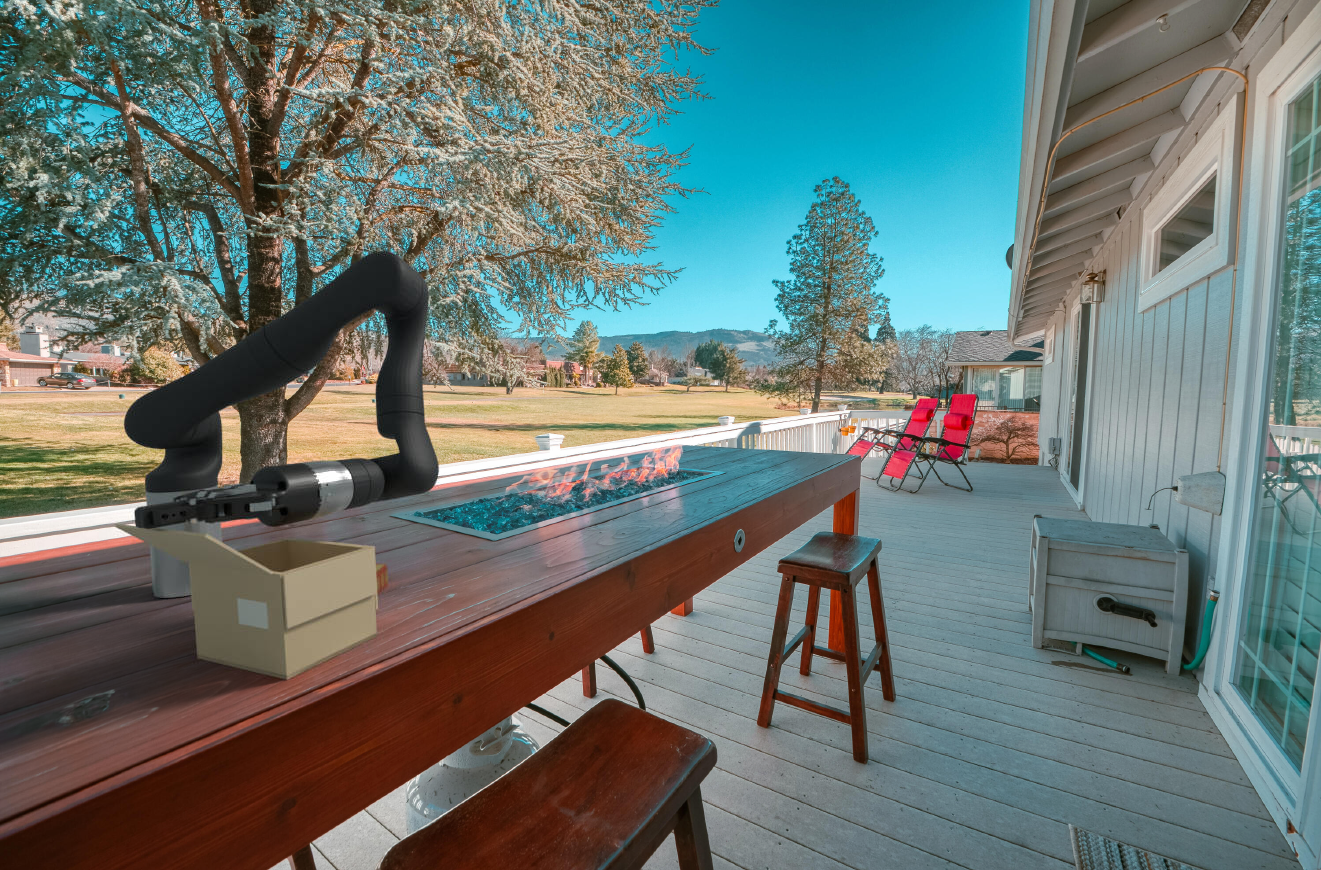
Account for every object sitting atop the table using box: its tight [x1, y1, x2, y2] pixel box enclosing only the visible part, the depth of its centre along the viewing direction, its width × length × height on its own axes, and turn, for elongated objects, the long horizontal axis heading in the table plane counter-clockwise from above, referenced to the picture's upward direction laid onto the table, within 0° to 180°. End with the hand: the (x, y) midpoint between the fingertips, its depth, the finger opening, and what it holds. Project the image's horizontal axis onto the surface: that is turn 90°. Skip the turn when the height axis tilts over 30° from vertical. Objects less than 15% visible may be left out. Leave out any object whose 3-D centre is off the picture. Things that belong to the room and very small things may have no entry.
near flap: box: [114, 523, 273, 574], centre depth 61 cm, size 16×8×1 cm
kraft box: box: [189, 537, 379, 681], centre depth 70 cm, size 17×13×12 cm
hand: (139, 518), depth 56 cm, fingers closed
